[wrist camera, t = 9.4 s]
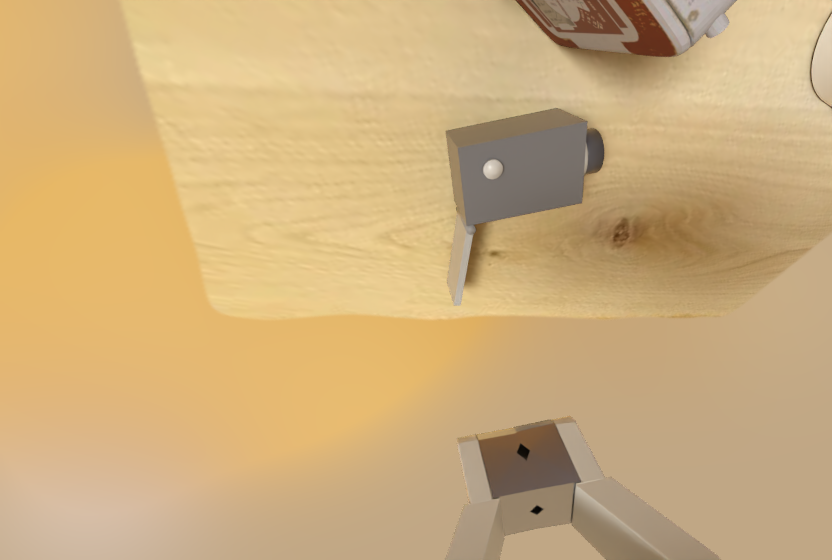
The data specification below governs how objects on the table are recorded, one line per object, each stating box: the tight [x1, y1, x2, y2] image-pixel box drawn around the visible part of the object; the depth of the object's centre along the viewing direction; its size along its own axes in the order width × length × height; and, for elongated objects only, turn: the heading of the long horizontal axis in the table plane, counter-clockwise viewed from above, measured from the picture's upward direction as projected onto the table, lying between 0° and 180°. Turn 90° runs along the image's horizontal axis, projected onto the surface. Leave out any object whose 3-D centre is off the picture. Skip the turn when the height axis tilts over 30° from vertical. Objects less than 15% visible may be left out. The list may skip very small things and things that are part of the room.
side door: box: [447, 207, 476, 305], centre depth 46 cm, size 10×1×6 cm, turn 175°
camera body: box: [446, 108, 604, 226], centre depth 41 cm, size 14×8×8 cm, turn 100°
